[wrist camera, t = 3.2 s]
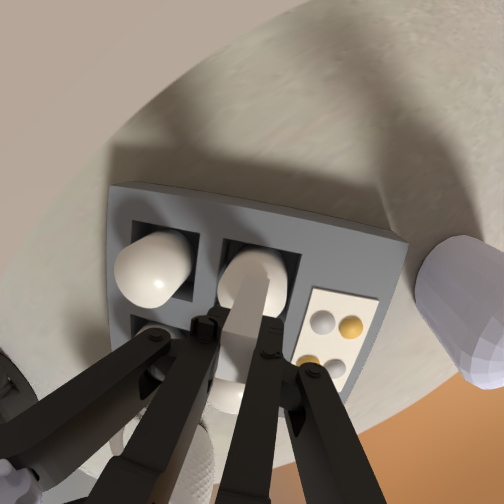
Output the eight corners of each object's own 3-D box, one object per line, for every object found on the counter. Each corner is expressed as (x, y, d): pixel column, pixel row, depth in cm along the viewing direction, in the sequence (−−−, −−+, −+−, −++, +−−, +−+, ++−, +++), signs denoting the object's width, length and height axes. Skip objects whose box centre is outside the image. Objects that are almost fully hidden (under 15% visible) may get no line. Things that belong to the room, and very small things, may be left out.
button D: (227, 289, 24) (213, 316, 19) (235, 237, 22) (222, 255, 18) (281, 301, 23) (278, 330, 19) (293, 249, 22) (293, 270, 18)
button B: (142, 275, 23) (114, 298, 19) (145, 223, 22) (114, 238, 17) (192, 288, 23) (171, 315, 18) (198, 234, 21) (175, 252, 17)
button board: (131, 350, 29) (112, 373, 25) (134, 181, 24) (106, 185, 19) (330, 396, 28) (334, 426, 23) (391, 231, 22) (411, 245, 18)
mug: (112, 386, 32) (61, 456, 19) (177, 372, 29) (128, 465, 17) (176, 455, 35) (148, 523, 22) (241, 450, 32) (222, 532, 20)
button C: (213, 372, 25) (200, 406, 21) (218, 333, 24) (204, 366, 19) (260, 383, 25) (255, 418, 20) (271, 345, 23) (266, 380, 19)
